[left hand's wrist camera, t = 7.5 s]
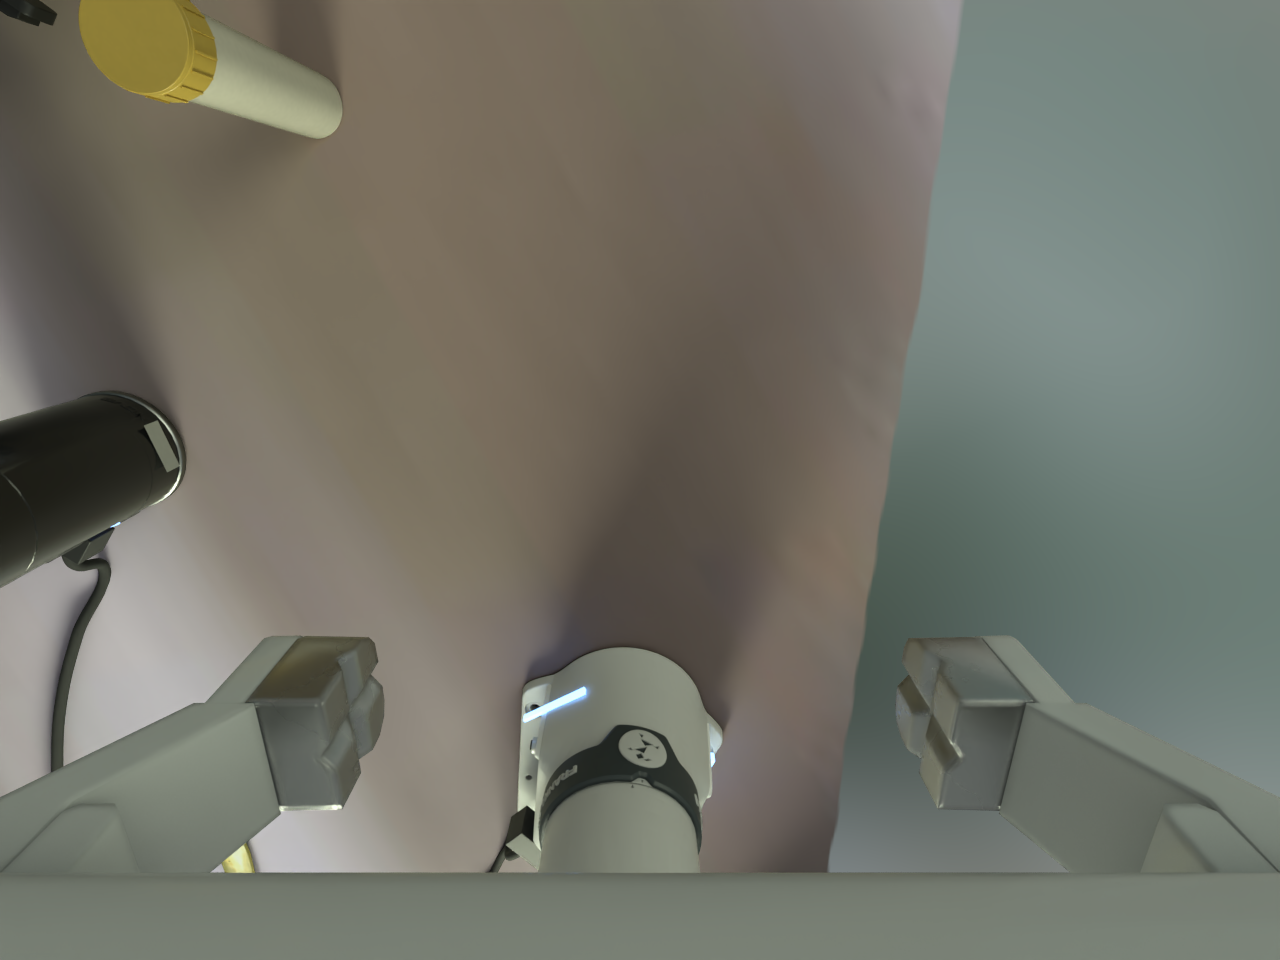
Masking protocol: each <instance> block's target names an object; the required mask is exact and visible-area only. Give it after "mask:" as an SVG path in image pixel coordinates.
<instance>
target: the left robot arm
mask: <svg viewBox="0 0 1280 960" xmlns="http://www.w3.org/2000/svg"><path fill="white" fill-rule="evenodd" d="M377 663H378V657H377V652H376V648H375V643H374V642H373V641H372V640H371V639H370V638H369V637H330V636H304V637H303V636H271V637H268V638H264V639H263V640H262V641H261V642H260V643H259V645H258V646H257V647H256V648H255V649H254V650H253V651H252V652H251V653H250V654H249V655H248V657H247V658H246V659H245V660H244V661H243V662H242V663H241V664H240V665H239V666H238V668H237V669H236V670H235V671H234V672H233V673H232V674H231V675H230V676H229V677H228V678H227V680H226V681H225V682H224V683H223V684H222V685H221V686H220V687H219V688H218V689H217V690H216V692H215V693H214V694H213V695H212V696H211V697H210V698H209V699H208V700H207V701H206V702H205V703H193V704H191V705H189V706H187V707H185V708H183V709H181V710H179V711H177V712H175V713H173V714H171V715H169V716H167V717H164V718H162V719H160V720H158V721H156V722H154V723H152V724H150V725H148V726H146V727H144V728H142V729H140V730H138V731H136V732H134V733H132V734H130V735H127V736H125V737H123V738H121V739H119V740H117V741H115V742H113V743H111V744H109V745H107V746H105V747H103V748H101V749H99V750H97V751H95V752H92V753H90V754H88V755H86V756H84V757H82V758H80V759H78V760H76V761H74V762H72V763H70V764H68V765H66V766H64V767H62V768H60V769H58V770H55V771H53V772H51V773H49V774H47V775H45V776H43V777H41V778H39V779H37V780H35V781H33V782H31V783H29V784H27V785H25V786H23V787H21V788H18V789H16V790H14V791H12V792H10V793H8V794H6V795H4V796H2V797H0V960H1280V798H1279V797H1277V796H1275V795H1273V794H1271V793H1269V792H1267V791H1265V790H1263V789H1261V788H1259V787H1257V786H1255V785H1253V784H1251V783H1249V782H1247V781H1245V780H1243V779H1241V778H1238V777H1236V776H1234V775H1232V774H1230V773H1228V772H1226V771H1224V770H1222V769H1220V768H1218V767H1216V766H1214V765H1212V764H1210V763H1208V762H1206V761H1204V760H1202V759H1200V758H1197V757H1195V756H1193V755H1191V754H1189V753H1187V752H1185V751H1183V750H1181V749H1179V748H1177V747H1175V746H1173V745H1171V744H1169V743H1167V742H1165V741H1163V740H1161V739H1159V738H1156V737H1154V736H1152V735H1150V734H1148V733H1146V732H1144V731H1142V730H1140V729H1138V728H1136V727H1134V726H1132V725H1130V724H1128V723H1126V722H1124V721H1122V720H1120V719H1117V718H1115V717H1113V716H1111V715H1109V714H1107V713H1105V712H1103V711H1101V710H1099V709H1097V708H1095V707H1093V706H1091V705H1089V704H1087V703H1075V702H1074V701H1073V700H1072V699H1071V698H1070V697H1069V696H1068V695H1067V694H1066V693H1065V692H1064V690H1063V689H1062V688H1061V687H1060V686H1059V685H1058V684H1057V683H1056V682H1055V681H1054V680H1053V678H1052V677H1051V676H1050V675H1049V674H1048V673H1047V672H1046V671H1045V670H1044V669H1043V667H1042V666H1041V665H1040V664H1039V663H1038V662H1037V661H1036V660H1035V659H1034V658H1033V657H1032V655H1031V654H1030V653H1029V652H1028V651H1027V650H1026V649H1025V648H1024V647H1023V646H1022V645H1021V643H1020V642H1019V641H1018V640H1017V639H1015V638H1013V637H1011V636H1008V635H1004V636H976V637H950V638H909V639H908V640H907V643H906V645H905V647H904V651H903V657H902V663H903V665H904V666H905V668H906V670H907V671H908V673H909V675H908V676H907V677H906V678H905V679H904V680H903V681H902V682H901V683H900V684H899V685H898V688H897V696H896V704H895V706H896V717H897V725H898V728H899V731H900V735H901V738H902V740H903V742H904V744H905V746H906V748H907V750H909V751H910V752H911V753H913V754H914V755H916V756H917V757H919V758H920V759H921V764H920V769H919V774H920V776H921V778H922V779H923V781H924V783H925V785H926V787H927V789H928V791H929V793H930V795H931V797H932V799H933V801H934V803H935V805H936V807H937V808H938V809H953V810H989V811H990V810H991V811H1000V812H999V814H1000V815H1001V816H1003V817H1004V818H1005V819H1006V820H1007V821H1009V822H1010V823H1011V824H1012V825H1013V826H1015V827H1016V828H1017V829H1018V830H1019V831H1021V832H1022V833H1023V834H1024V835H1026V836H1027V837H1028V838H1029V839H1030V840H1032V841H1033V842H1034V843H1035V844H1036V845H1038V846H1039V847H1040V848H1041V849H1042V850H1044V851H1045V852H1046V853H1047V854H1048V855H1050V856H1051V857H1052V858H1053V859H1054V860H1056V861H1057V862H1058V863H1059V864H1061V865H1062V866H1063V867H1064V868H1065V869H1067V870H1068V871H1069V872H1070V873H700V867H699V858H698V854H699V852H700V847H701V840H702V834H701V833H702V812H701V810H702V807H703V804H704V803H705V801H706V799H707V798H710V797H711V794H712V769H711V767H712V765H713V764H714V762H715V758H714V755H715V753H716V752H717V750H718V749H719V747H720V746H721V744H722V741H723V733H722V729H721V727H720V726H719V725H718V723H717V722H716V721H715V720H714V719H713V718H712V717H711V716H710V715H709V714H708V713H707V712H706V710H705V708H704V706H703V703H702V700H701V697H700V694H699V692H698V689H697V687H696V685H695V684H694V682H693V681H692V679H691V678H690V677H689V675H688V674H687V673H686V672H685V671H684V670H683V669H682V668H681V667H679V666H678V665H677V664H676V663H674V662H673V661H671V660H669V659H668V658H666V657H664V656H662V655H660V654H657V653H654V652H651V651H648V650H644V649H639V648H631V647H615V648H607V649H602V650H598V651H595V652H592V653H589V654H587V655H584V656H582V657H580V658H578V659H577V660H575V661H573V662H572V663H571V664H569V665H568V666H567V667H565V668H564V669H562V670H561V671H559V672H558V673H556V674H554V675H549V676H545V677H541V678H538V679H535V680H532V681H530V682H528V683H527V684H526V685H525V686H524V688H523V694H522V712H521V735H520V757H519V779H518V802H517V810H518V812H517V813H516V814H515V815H513V816H512V817H511V821H510V826H509V831H508V835H507V840H506V846H505V847H504V848H503V849H502V851H501V852H500V854H499V855H498V857H497V859H496V861H495V863H494V865H493V867H492V869H491V871H490V873H210V872H211V871H212V870H214V869H215V868H216V867H217V866H218V865H220V864H221V863H222V862H223V861H225V860H226V859H227V858H228V857H229V856H231V855H232V854H233V853H234V852H235V851H237V850H238V849H239V848H240V847H241V846H243V845H244V844H245V843H246V842H248V841H249V840H250V839H251V838H252V837H254V836H255V835H256V834H257V833H258V832H260V831H261V830H262V829H263V828H264V827H266V826H267V825H268V824H269V823H271V822H272V821H273V820H274V819H275V818H277V817H278V816H279V815H280V814H281V812H280V811H291V810H325V809H343V807H344V805H345V803H346V801H347V799H348V797H349V795H350V793H351V791H352V789H353V787H354V785H355V783H356V781H357V780H358V778H359V776H360V774H361V769H360V764H359V759H360V758H361V757H363V756H364V755H366V754H367V753H369V752H370V751H371V750H373V748H374V746H375V744H376V742H377V740H378V738H379V735H380V732H381V727H382V723H383V718H384V694H383V687H382V685H381V684H380V683H379V682H378V681H377V680H376V679H375V678H374V677H373V676H372V675H371V673H372V671H373V670H374V668H375V666H376V665H377ZM532 704H537V705H539V706H537V707H535V706H533V705H532ZM512 850H513V851H512ZM518 857H522V858H523V859H524V860H526V861H527V862H528V863H529V864H531V865H532V866H533V867H534V868H536V869H537V870H538V873H498V871H499V869H500V867H501V865H502V863H503V861H504V859H505V858H506V860H509V861H511V860H514V859H516V858H518Z"/></svg>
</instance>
